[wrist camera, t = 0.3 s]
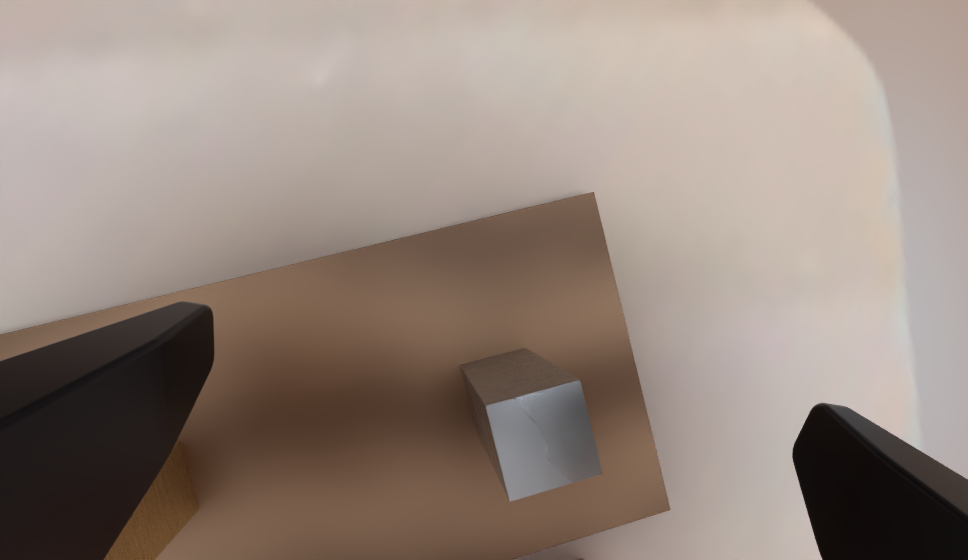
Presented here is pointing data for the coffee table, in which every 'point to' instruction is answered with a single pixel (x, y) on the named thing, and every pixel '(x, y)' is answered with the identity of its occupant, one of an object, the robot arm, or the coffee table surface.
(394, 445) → the board
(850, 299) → the coffee table surface
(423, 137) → the coffee table surface
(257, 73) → the coffee table surface
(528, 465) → the steel post
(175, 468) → the brass post
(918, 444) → the coffee table surface
